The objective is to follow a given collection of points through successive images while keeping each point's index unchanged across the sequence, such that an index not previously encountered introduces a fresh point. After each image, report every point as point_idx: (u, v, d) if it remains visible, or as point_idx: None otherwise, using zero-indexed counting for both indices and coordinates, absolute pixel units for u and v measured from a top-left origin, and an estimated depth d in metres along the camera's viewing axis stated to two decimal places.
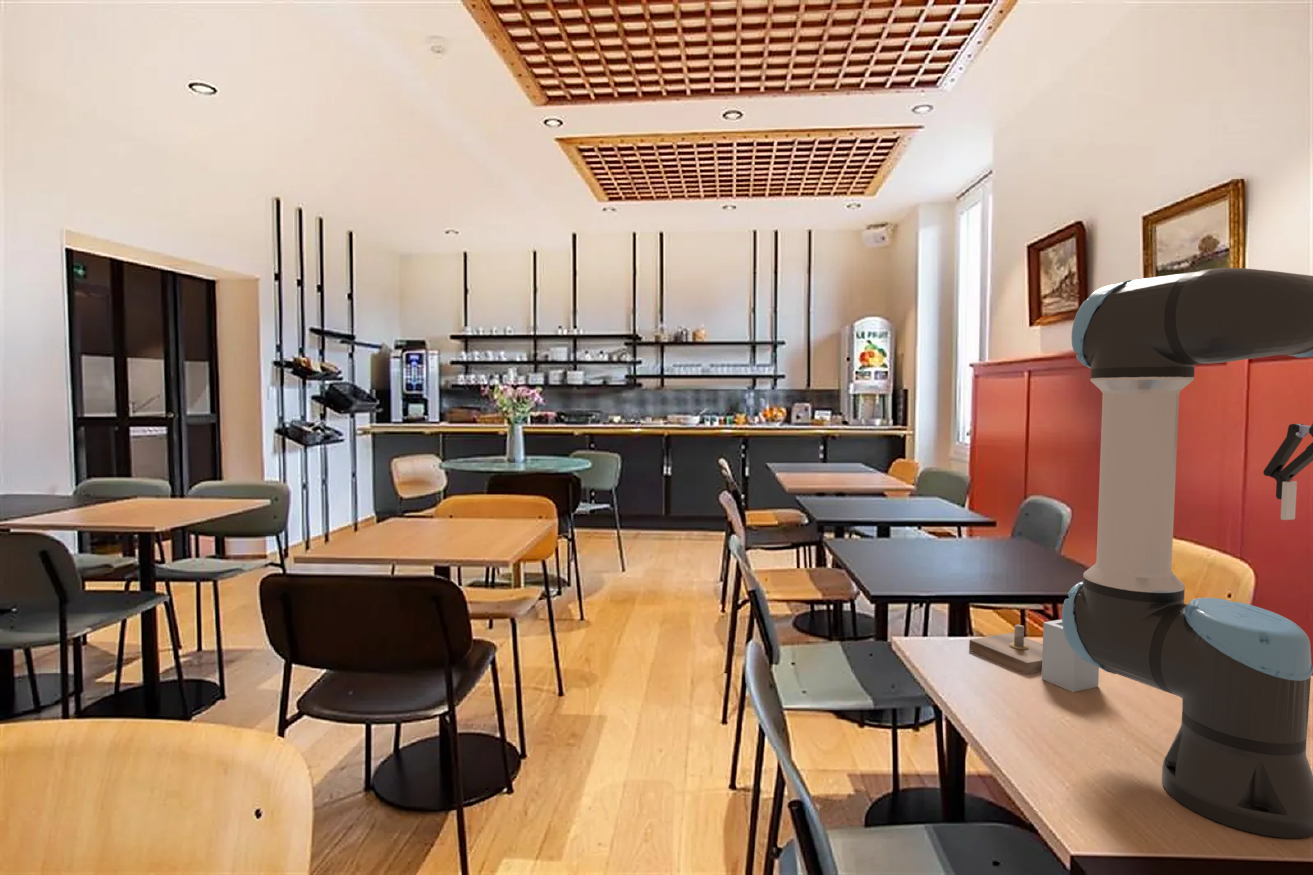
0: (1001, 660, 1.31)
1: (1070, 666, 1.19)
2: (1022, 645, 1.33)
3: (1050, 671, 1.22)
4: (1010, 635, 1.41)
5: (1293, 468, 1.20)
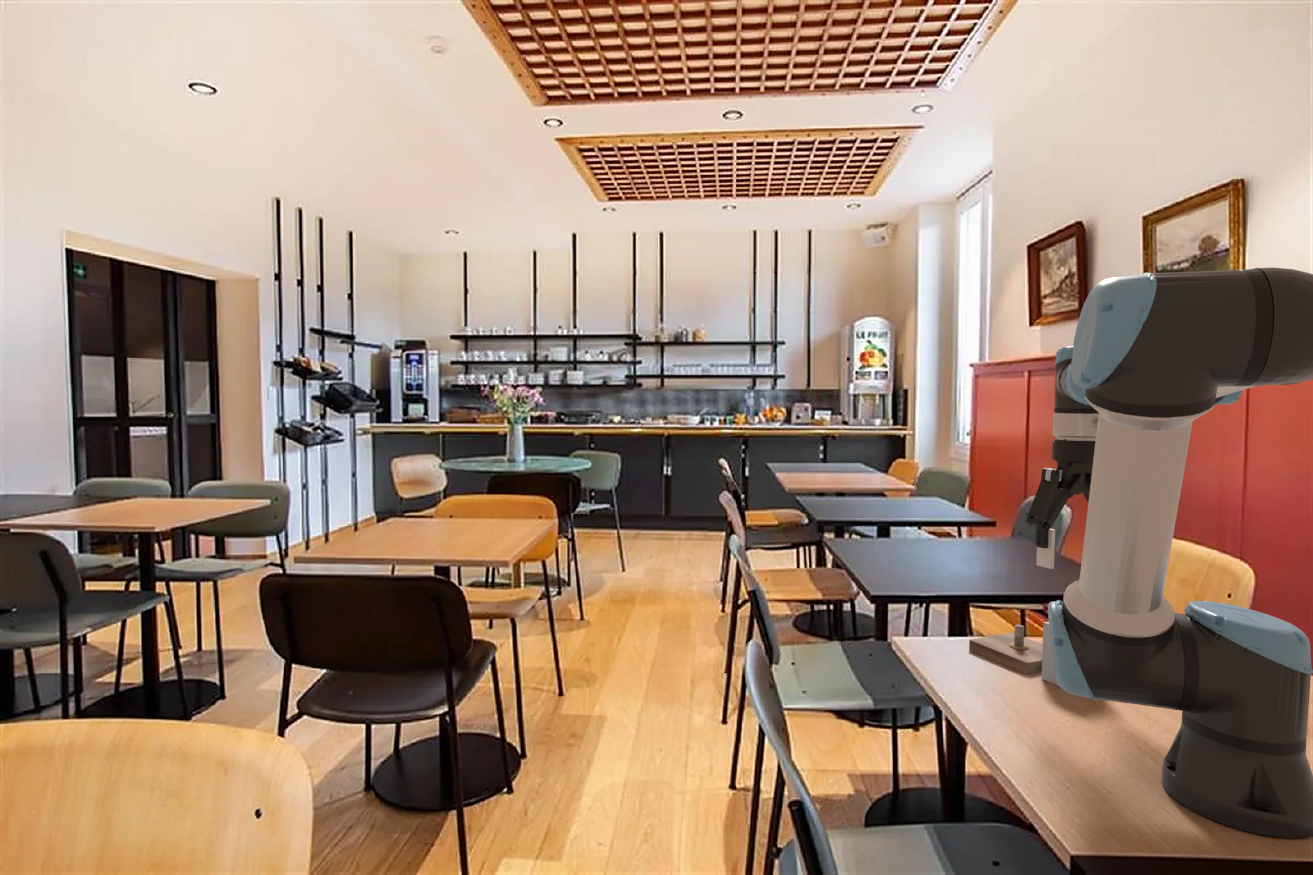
0: (1001, 660, 1.31)
1: None
2: (1022, 645, 1.33)
3: (1050, 671, 1.22)
4: (1010, 635, 1.41)
5: None
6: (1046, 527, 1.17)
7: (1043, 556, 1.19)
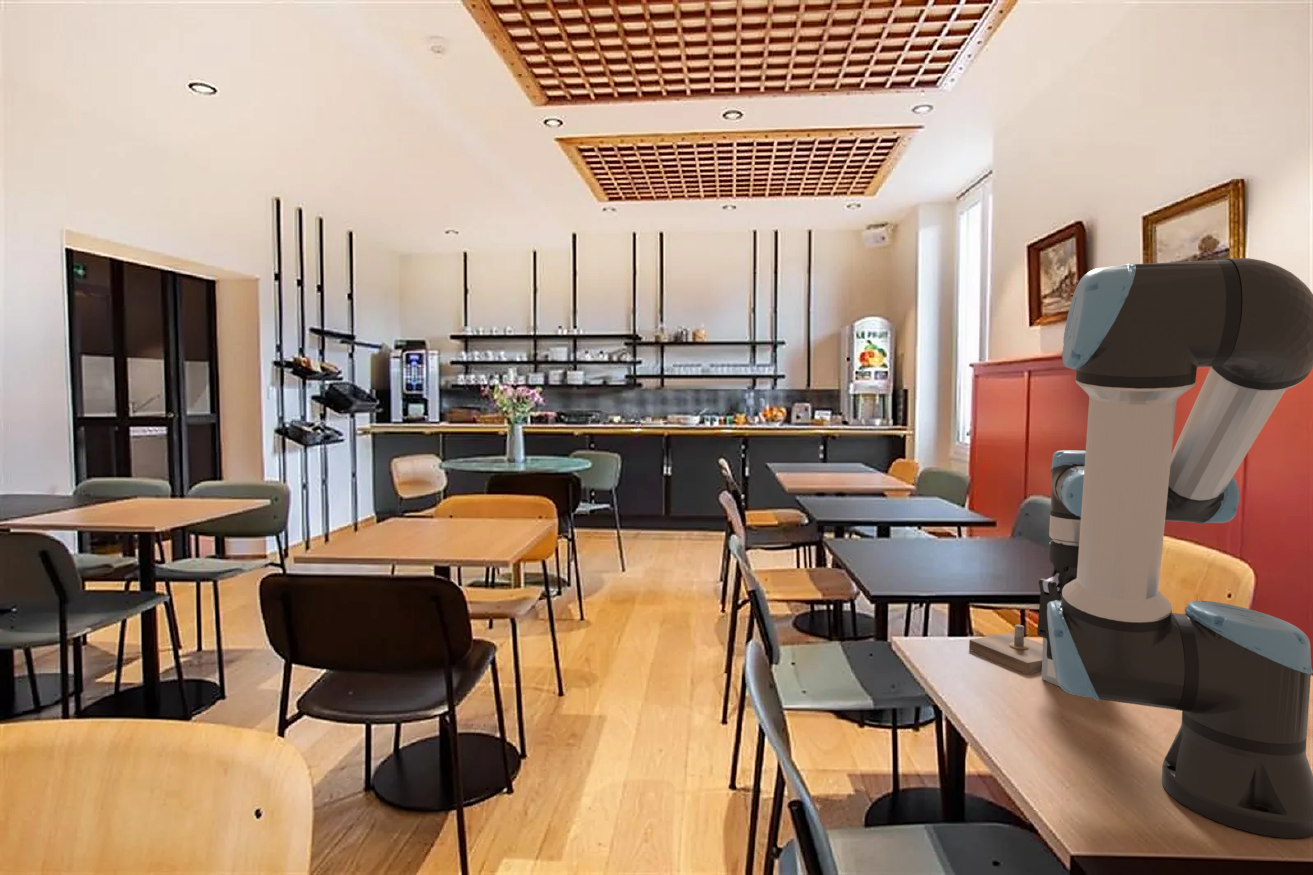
0: (1001, 660, 1.31)
1: None
2: (1022, 645, 1.33)
3: None
4: (1010, 635, 1.41)
5: None
6: None
7: (1054, 667, 1.21)
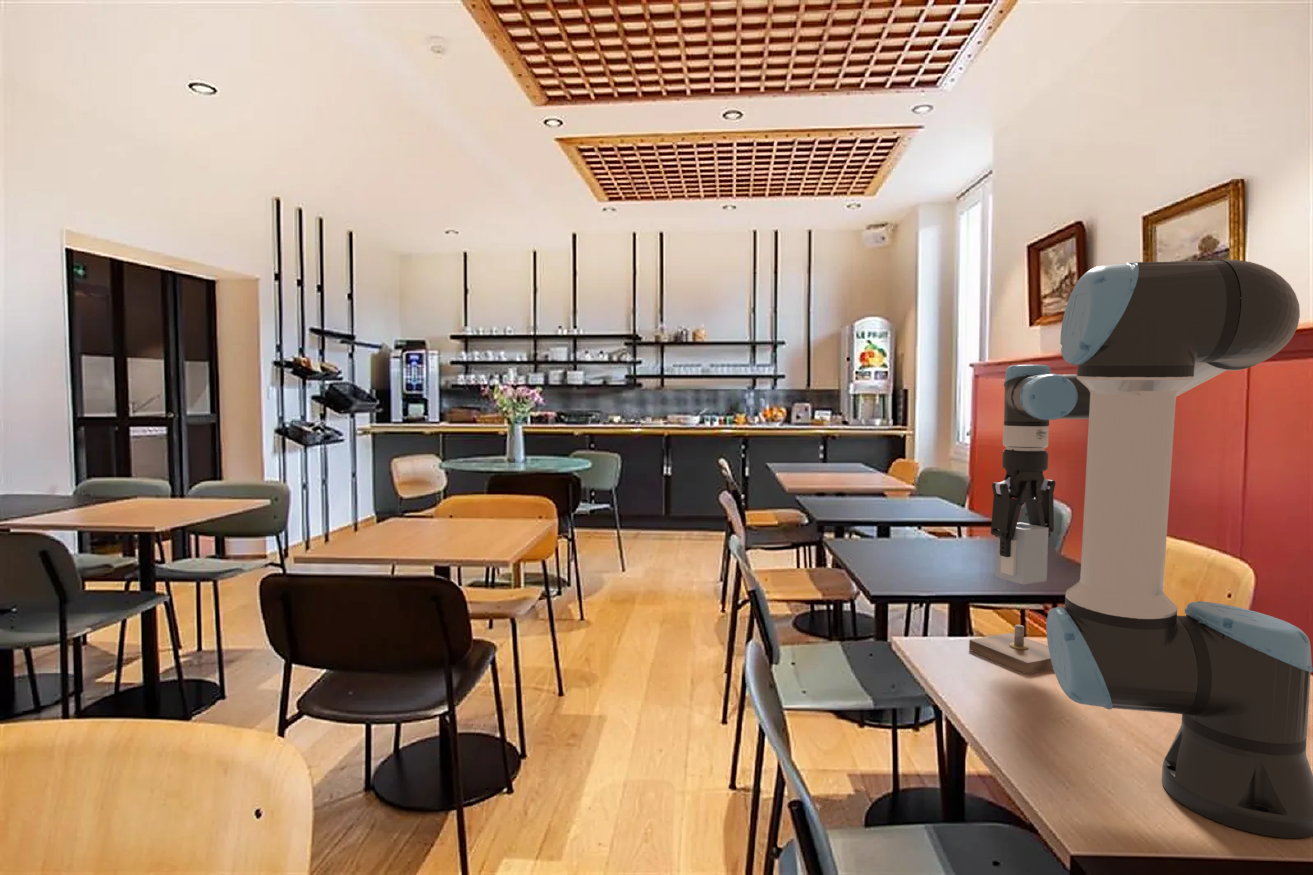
0: (1001, 660, 1.31)
1: (1020, 561, 1.30)
2: (1022, 645, 1.33)
3: None
4: (1010, 635, 1.41)
5: None
6: (1009, 539, 1.30)
7: (1006, 564, 1.32)
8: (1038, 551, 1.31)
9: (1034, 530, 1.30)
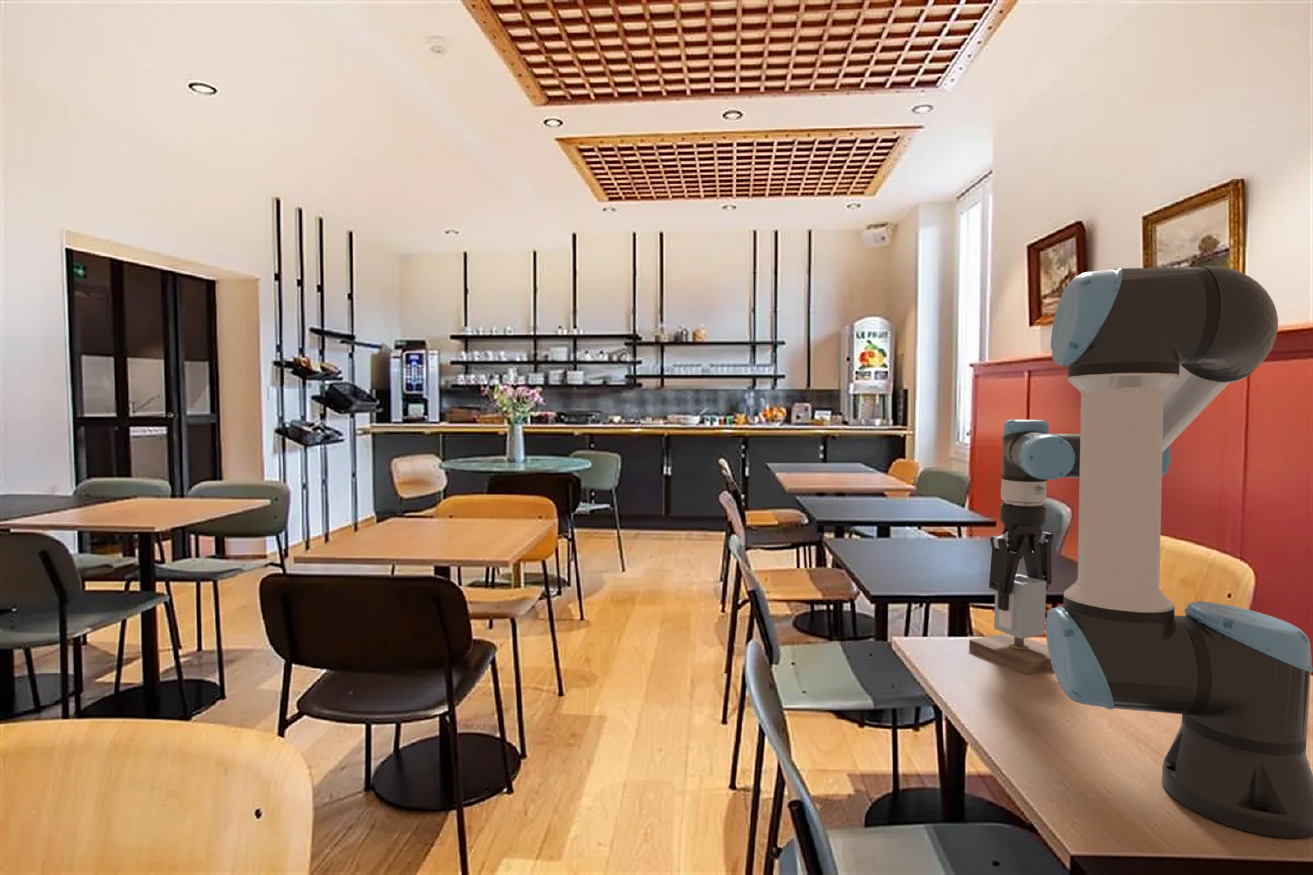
0: (1001, 660, 1.31)
1: (1018, 615, 1.31)
2: (1022, 645, 1.33)
3: None
4: (1010, 635, 1.41)
5: None
6: (1007, 593, 1.31)
7: (1004, 617, 1.32)
8: (1036, 605, 1.31)
9: (1032, 584, 1.31)
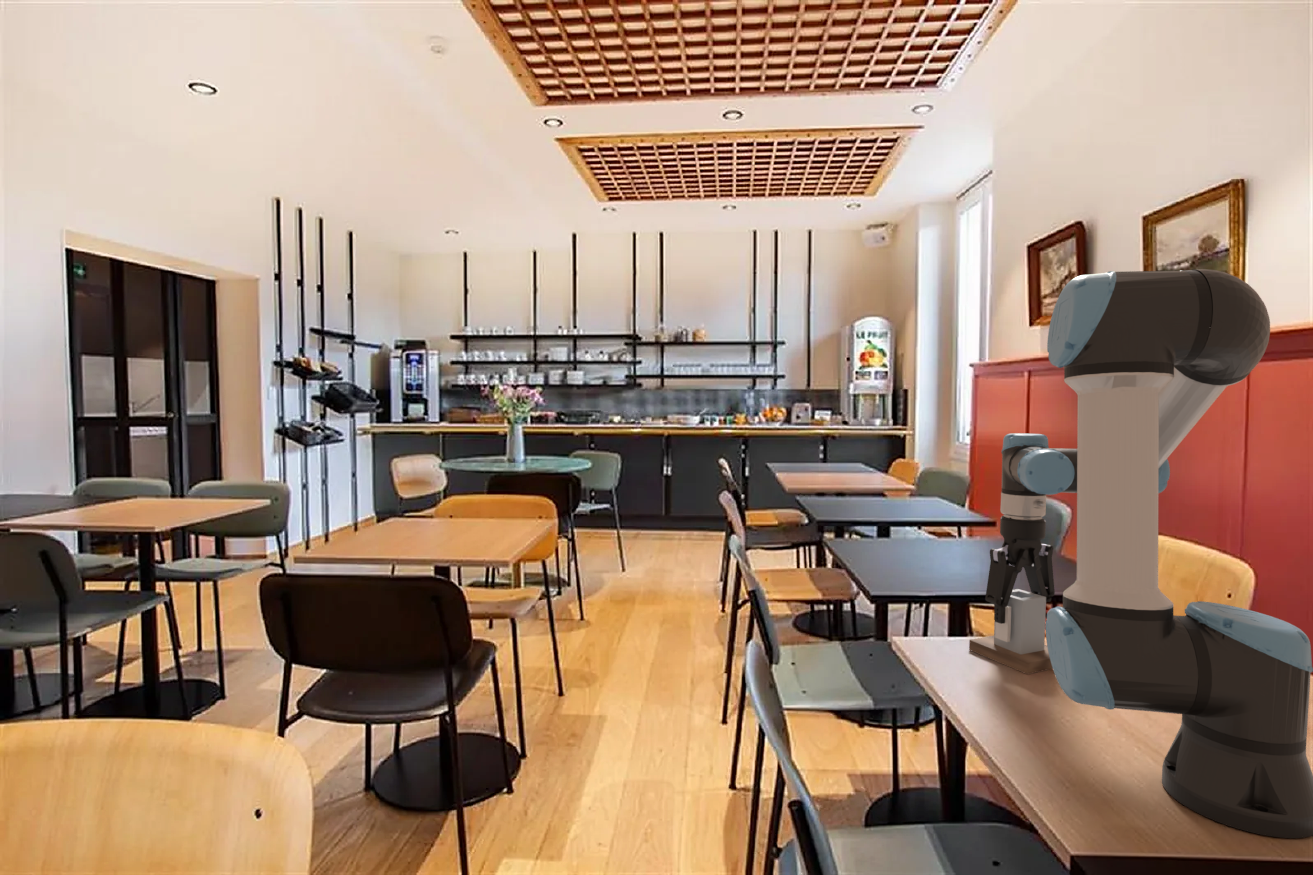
0: (1001, 660, 1.31)
1: (1018, 631, 1.31)
2: None
3: None
4: None
5: None
6: (1003, 606, 1.30)
7: (1001, 630, 1.32)
8: (1036, 621, 1.31)
9: (1032, 600, 1.31)
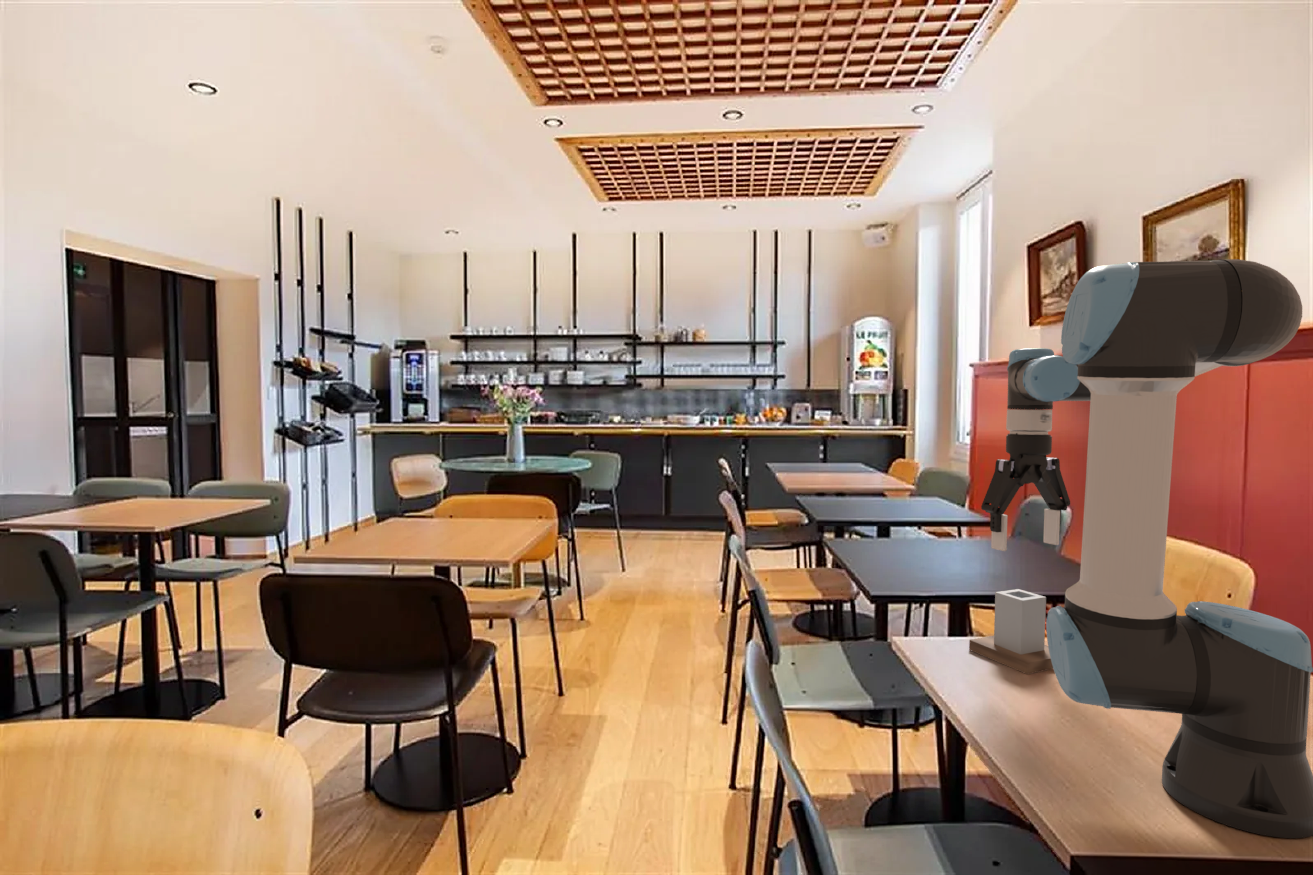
0: (1001, 660, 1.31)
1: (1018, 631, 1.31)
2: None
3: (1001, 636, 1.34)
4: None
5: (1043, 496, 1.36)
6: (999, 513, 1.28)
7: (997, 540, 1.30)
8: (1036, 621, 1.31)
9: (1032, 600, 1.31)
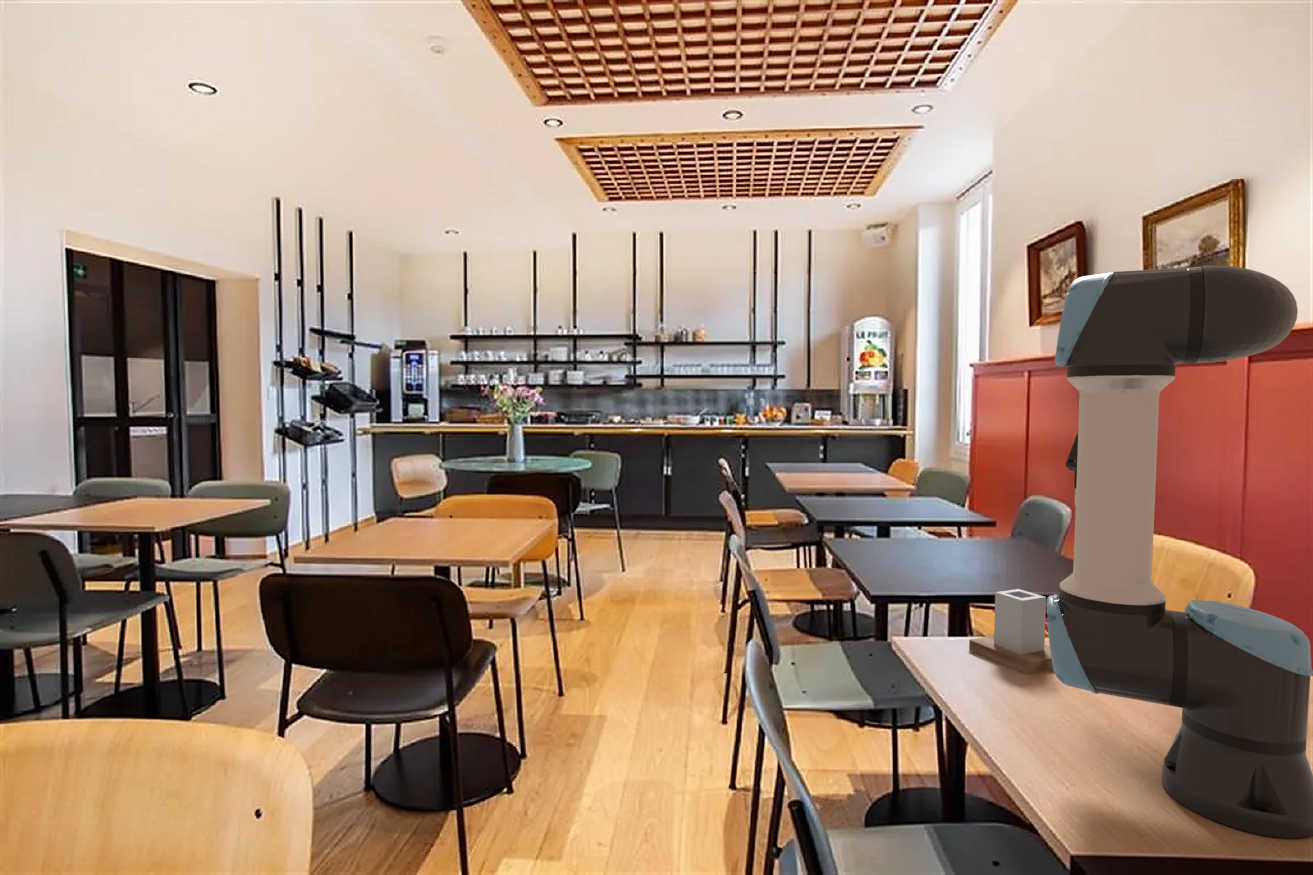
0: (1001, 660, 1.31)
1: (1018, 631, 1.31)
2: None
3: (1001, 636, 1.34)
4: None
5: None
6: None
7: None
8: (1036, 621, 1.31)
9: (1032, 600, 1.31)
